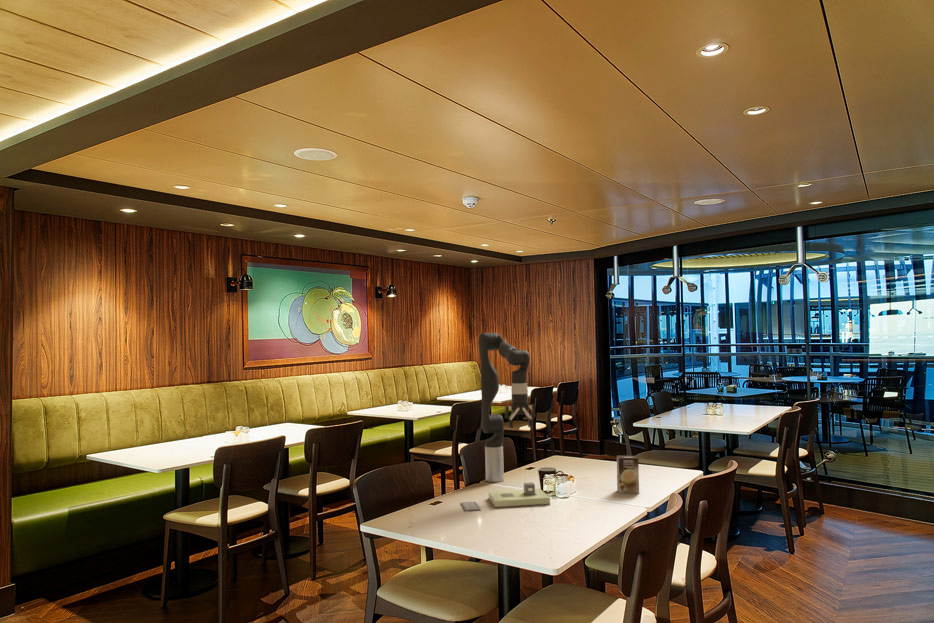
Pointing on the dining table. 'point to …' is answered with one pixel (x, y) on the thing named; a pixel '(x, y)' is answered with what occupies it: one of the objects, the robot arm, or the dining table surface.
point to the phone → (470, 506)
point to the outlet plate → (518, 498)
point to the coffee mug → (546, 470)
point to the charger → (529, 489)
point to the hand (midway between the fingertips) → (520, 427)
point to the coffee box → (627, 474)
